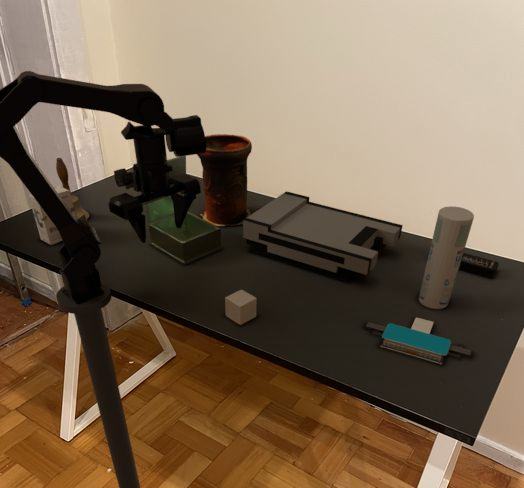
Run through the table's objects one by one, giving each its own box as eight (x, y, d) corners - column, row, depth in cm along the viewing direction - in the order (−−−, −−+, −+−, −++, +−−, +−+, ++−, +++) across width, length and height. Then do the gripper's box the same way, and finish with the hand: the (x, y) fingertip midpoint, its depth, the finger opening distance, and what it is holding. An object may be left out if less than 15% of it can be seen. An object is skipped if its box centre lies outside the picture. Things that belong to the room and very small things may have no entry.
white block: (240, 325, 104) (240, 306, 101) (225, 315, 106) (224, 297, 103) (256, 316, 106) (256, 298, 103) (241, 307, 109) (241, 289, 106)
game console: (364, 289, 115) (370, 256, 110) (243, 251, 128) (243, 220, 122) (397, 251, 129) (403, 220, 123) (285, 220, 141) (286, 191, 136)
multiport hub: (436, 254, 128) (438, 245, 126) (496, 270, 122) (499, 262, 121) (430, 261, 125) (432, 252, 124) (491, 279, 119) (494, 270, 118)
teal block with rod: (475, 336, 102) (477, 329, 101) (465, 372, 94) (467, 365, 93) (376, 309, 109) (377, 303, 108) (358, 341, 100) (359, 334, 99)
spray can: (444, 312, 108) (470, 223, 96) (414, 304, 111) (435, 215, 98) (452, 298, 113) (477, 210, 100) (422, 289, 115) (443, 203, 102)
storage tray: (221, 249, 128) (220, 228, 125) (184, 265, 122) (182, 243, 118) (187, 231, 135) (186, 210, 132) (151, 245, 129) (148, 224, 126)
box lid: (186, 155, 122) (173, 148, 124) (145, 167, 116) (132, 159, 118) (186, 209, 132) (175, 202, 134) (149, 223, 125) (137, 215, 128)
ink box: (69, 228, 136) (59, 184, 128) (80, 234, 133) (70, 189, 126) (39, 239, 131) (27, 194, 123) (50, 245, 128) (38, 200, 121)
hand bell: (73, 227, 136) (59, 166, 126) (50, 219, 140) (35, 160, 130) (96, 215, 142) (84, 156, 132) (73, 208, 145) (60, 150, 135)
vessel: (216, 201, 150) (213, 129, 138) (260, 211, 146) (261, 137, 133) (189, 221, 140) (183, 145, 128) (236, 232, 136) (234, 154, 123)
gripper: (164, 139, 108) (172, 210, 118) (85, 161, 98) (101, 237, 107) (199, 151, 102) (204, 225, 112) (119, 177, 92) (132, 255, 101)
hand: (161, 234), depth 108 cm, fingers open, 9 cm apart
